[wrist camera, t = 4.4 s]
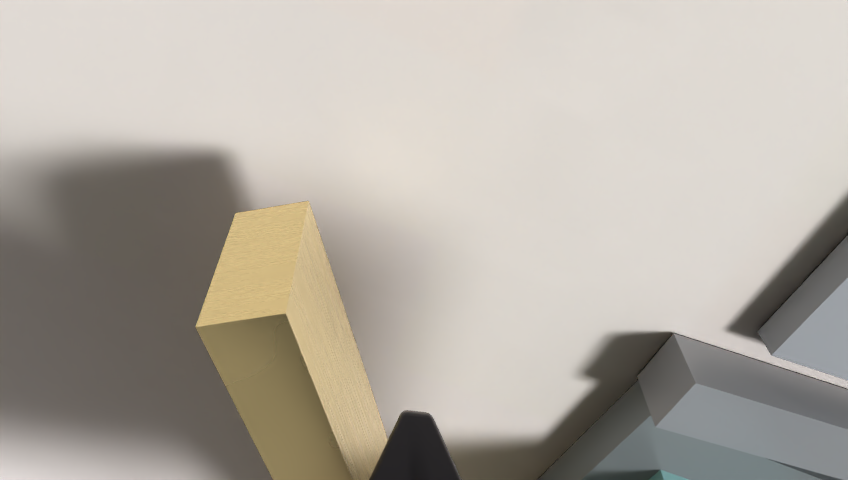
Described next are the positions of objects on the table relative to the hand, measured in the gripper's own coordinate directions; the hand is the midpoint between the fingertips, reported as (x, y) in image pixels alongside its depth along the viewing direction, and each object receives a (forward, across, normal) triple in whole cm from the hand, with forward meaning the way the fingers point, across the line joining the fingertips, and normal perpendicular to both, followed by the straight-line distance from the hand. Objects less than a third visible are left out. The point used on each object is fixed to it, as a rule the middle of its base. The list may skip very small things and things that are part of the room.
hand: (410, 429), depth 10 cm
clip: (+1, 0, +4) cm, 4 cm away
